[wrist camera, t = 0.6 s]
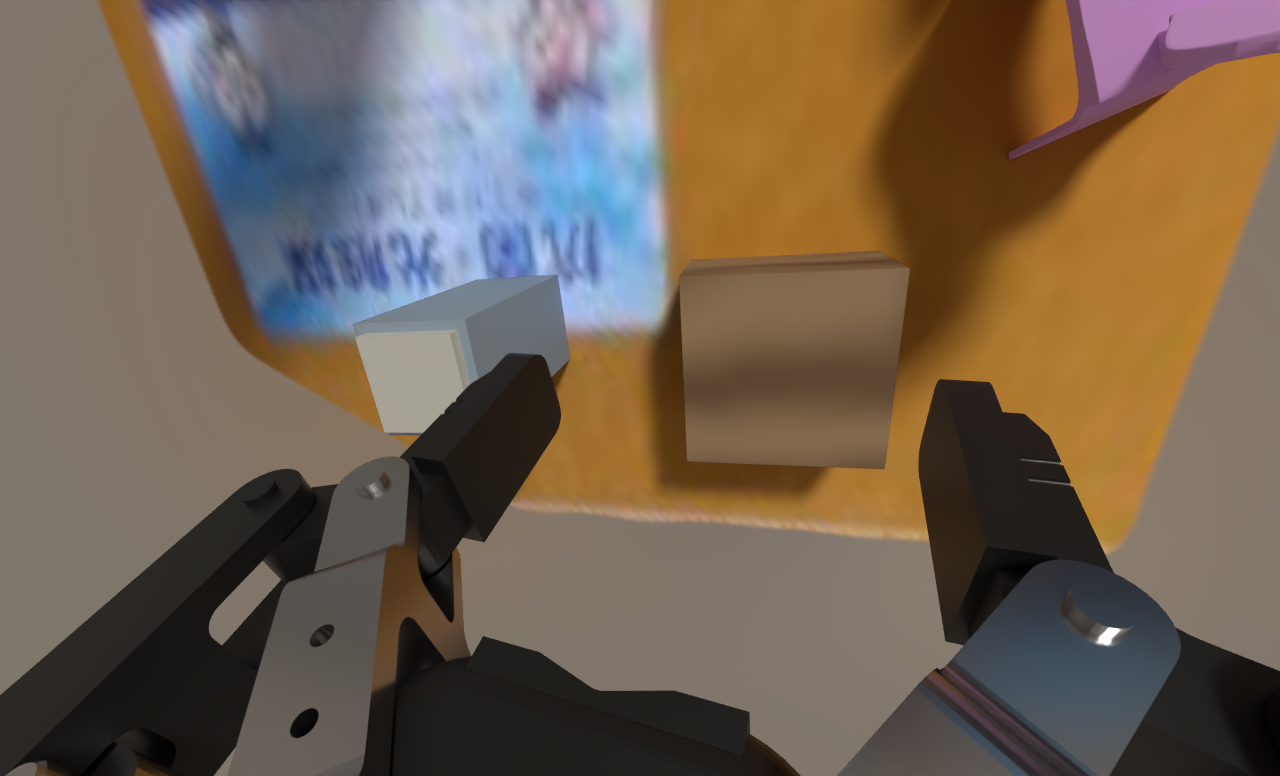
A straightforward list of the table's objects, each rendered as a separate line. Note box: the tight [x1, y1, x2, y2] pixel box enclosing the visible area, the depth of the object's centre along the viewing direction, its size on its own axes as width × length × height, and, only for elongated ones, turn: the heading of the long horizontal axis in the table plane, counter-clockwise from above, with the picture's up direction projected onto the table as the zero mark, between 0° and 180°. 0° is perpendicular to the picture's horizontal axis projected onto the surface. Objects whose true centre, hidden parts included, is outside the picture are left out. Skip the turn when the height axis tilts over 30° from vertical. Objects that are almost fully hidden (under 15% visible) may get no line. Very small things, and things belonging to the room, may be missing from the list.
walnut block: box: [679, 251, 910, 469], centre depth 27 cm, size 10×10×6 cm
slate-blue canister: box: [353, 275, 570, 435], centre depth 27 cm, size 6×6×12 cm
